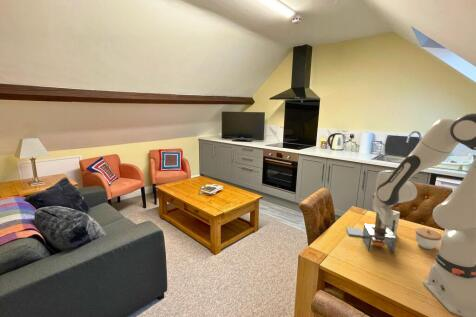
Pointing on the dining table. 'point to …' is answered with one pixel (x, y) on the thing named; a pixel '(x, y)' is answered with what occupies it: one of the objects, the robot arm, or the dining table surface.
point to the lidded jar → (427, 238)
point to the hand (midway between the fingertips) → (380, 225)
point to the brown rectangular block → (378, 228)
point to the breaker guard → (370, 233)
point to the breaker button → (377, 242)
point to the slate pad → (354, 232)
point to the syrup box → (395, 222)
